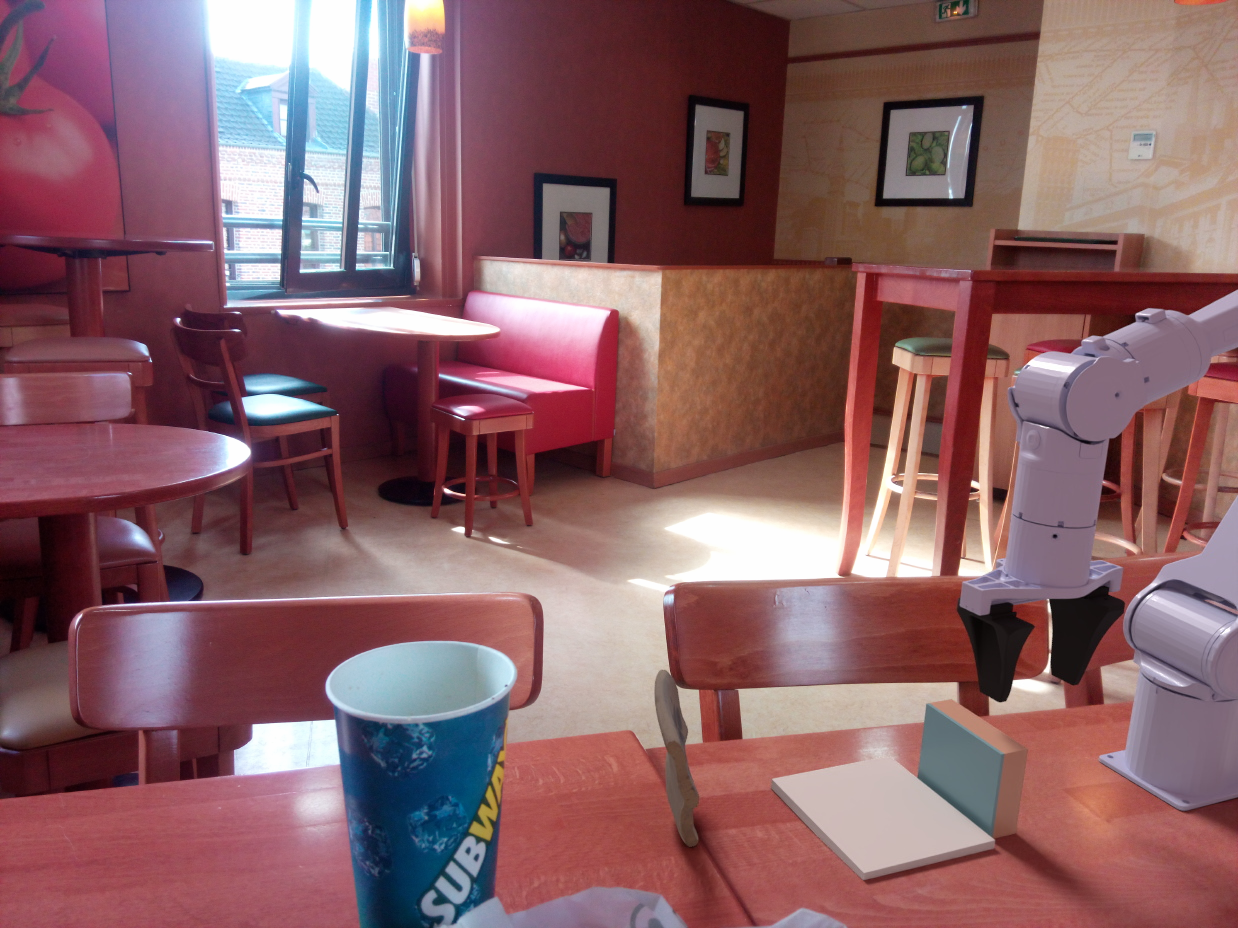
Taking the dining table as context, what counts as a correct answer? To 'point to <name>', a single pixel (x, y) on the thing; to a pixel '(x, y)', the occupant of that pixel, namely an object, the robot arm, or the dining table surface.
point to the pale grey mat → (880, 817)
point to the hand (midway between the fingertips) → (1029, 687)
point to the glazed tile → (972, 766)
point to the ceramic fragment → (676, 757)
